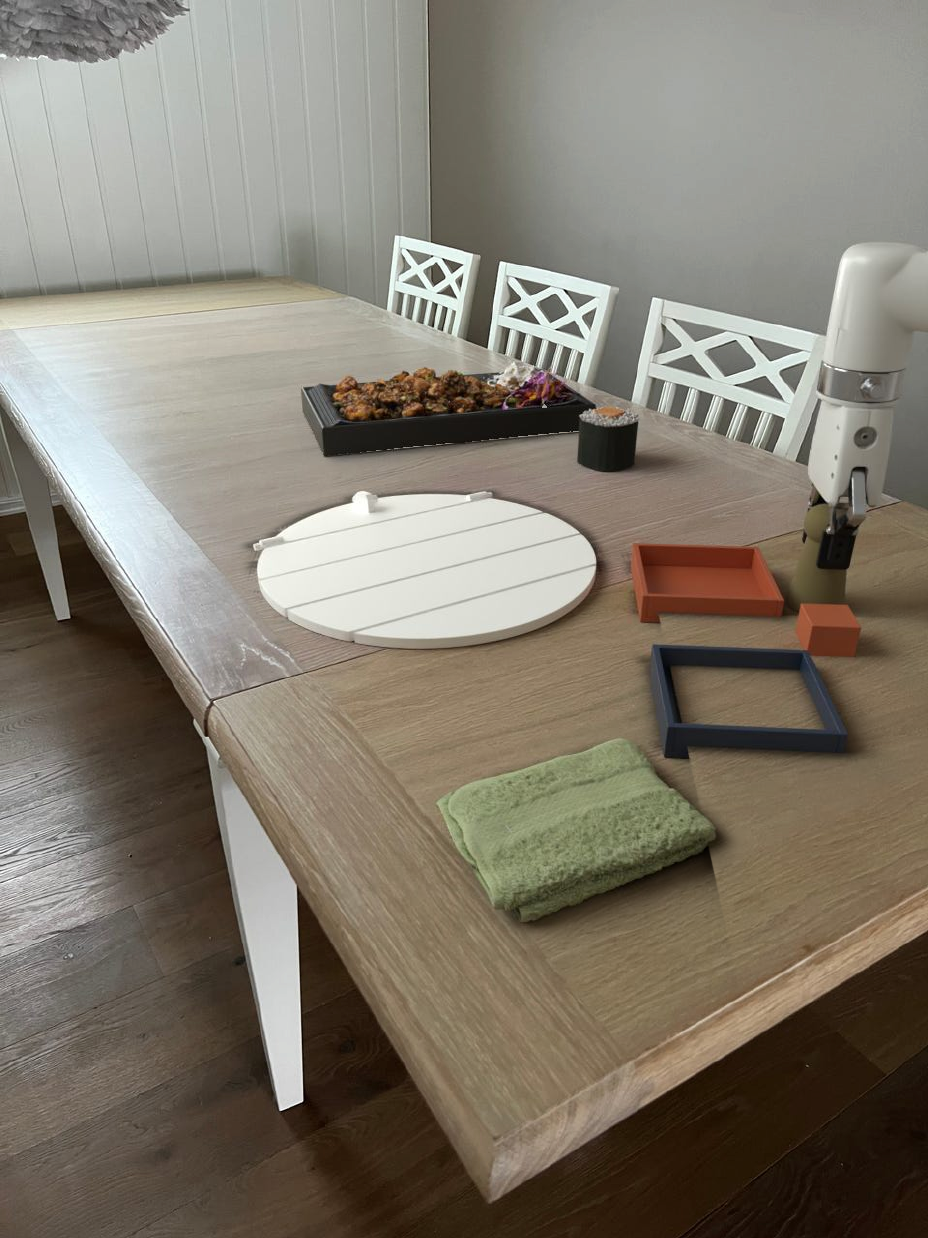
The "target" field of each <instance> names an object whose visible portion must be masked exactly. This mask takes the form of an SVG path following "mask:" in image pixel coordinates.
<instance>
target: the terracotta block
mask: <svg viewBox="0 0 928 1238" xmlns="http://www.w3.org/2000/svg"><path fill="white" fill-rule="evenodd" d="M797 616H798V617H797V620H796V621H797V622H796V625H795V632H794V633H795V635H796V637H797V639H798V642H799V643H800V645H801V648H802V650H808V652H809V654H810V656H814V657H815V656H817V657H840V658H841V657H844V658H855V657H856V652H857V647H858V644H859V639H860V634H861V631H862V627H861V625H860V623H859V621H858V620H857V618H856V616H855V614H854V613H853V611H852V609H851V608H850V605H849V604H844V605H831V604H801V606H800V611H799V612H798V615H797Z"/></svg>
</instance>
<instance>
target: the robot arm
mask: <svg viewBox="0 0 928 1238" xmlns="http://www.w3.org/2000/svg"><path fill="white" fill-rule="evenodd" d="M834 285H835V286H834V291H833V296H832V301H831V307H830V313H829V318H828V323H827V329H826V334H825V339H824V345H823V352H822V357H821V361H820V367H819V372H818V379H817V384H816V391H815V396H816V397H817V399H818V400H821V402H820V405H819V410H818V413H817V417H816V422H815V426H814V431H813V435H812V440H811V445H810V451H809V458H808V463H807V464H808V465H807V475H808V478H809V480H810V481H811V486H812V489H811V491H810V494H809V498H808V508H807V511H806V513H807V512H808V511H809V510H810V509H811V508H812V507H813V506H817V505H820V504H829V510H828V520H827V531H822V536H821V541H820V546H819V551H818V556H817V561H816V566H817V567H818V568H819V569H837V570H846V569H847V570H848V569H849V568H850V565H851V561H852V558H853V553H854V548H855V543H856V539H857V536H858V534H859V529H860V527H861V525H862V523H864V522H865V521H866V518H867V506H868V507H869V508H873V509H875V508H877V507H878V506H879V505H880V503H881V500H882V495H883V491H884V486H885V485H884V484H885V479H886V474H887V467H888V462H889V456H890V450H891V444H892V437H893V436H892V435H893V425H894V406H897V405H898V404H899V402H900V399H901V394H902V390H903V386H904V381H905V377H906V372H907V368H908V364H909V360H910V355H911V350H912V345H913V341H914V337H915V334H916V333H915V332H922V333H927V334H928V250H927V251H926V250H925V249H924V248H923V247H920V246H918V245H915V244H911V243H905V242H904V243H903V242H895V241H894V242H893V241H892V242H891V241H870V242H869V241H868V242H859V243H856V244H853V245H851V246H849V247H848V248H847V249H846V250H845V251H844V252H843V254H842V256H841V258H840V260H839V265H838V269H837V274H836V279H835V284H834ZM841 498H848V499H847V500H848V502H843V501H841ZM838 509H848V511H847V512H846V514H845V515H841V516H840V517H839V518H838V519H837V511H838ZM806 538H807V534H806V533H805V531H804V530H803V531H802V538H801V542H802V543H803V545H804V544H805V541H806Z"/></svg>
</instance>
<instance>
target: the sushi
mask: <svg viewBox="0 0 928 1238" xmlns="http://www.w3.org/2000/svg"><path fill="white" fill-rule="evenodd" d="M639 415H640V414H639V413H637V412H634V411H633V410H631V408H629V407H628V408H627V409H624V408H622V407H618V406H616V407H614V406H612V405H608V406H601V407H599V406H598V407H596V409H595V410H594V409H593V410H591V409H589V411H584V412H583V414H581V415H579V416H580V423H579V432H578V439H577V441H578V442H577V456H576V457H577V458H576V462H577V463H578V464H579V465H580V464H581V466H582V465H583V466H582V467H586V468H588V469H591V470H594V471H599V472H618V471H623V470H626V469H629V468H632V467H634V466H635V464H636V463H635V461H636V450H637V441H638V430H639V420H640V417H639Z"/></svg>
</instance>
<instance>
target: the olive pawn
mask: <svg viewBox="0 0 928 1238" xmlns="http://www.w3.org/2000/svg"><path fill="white" fill-rule="evenodd" d="M810 508H811V509H810V510H809V511H808V512H807V511H806V514H805V516H804V521H803V531H805V533H806V534H807V538H806V541H805V544H804V543H803V546H802V549H801V553H800V555H799V558H798V561H797V563H796V567H795V570H794V573H793V576H792V578H791V582H790V584H789V587H788V590H787V593H786V596H785V603H786V604H787V606H788V607H789V608H791V609H792V610H794V611H796V612H798V613H799V611H800V606H801V604H831V605H845V600H846V587H847V586H846V585H847V570H848V569H846V570H837V569H819V568H818V567H817V566H816V561H817V556H818V551H819V546H820V541H821V536H822V531H827V520H828V510H829V504H820V505H817V506H813V507H810ZM847 511H848V509H838V511H837V519H838V518H839V517H840V516H841V515H845V514H846V512H847Z"/></svg>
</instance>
